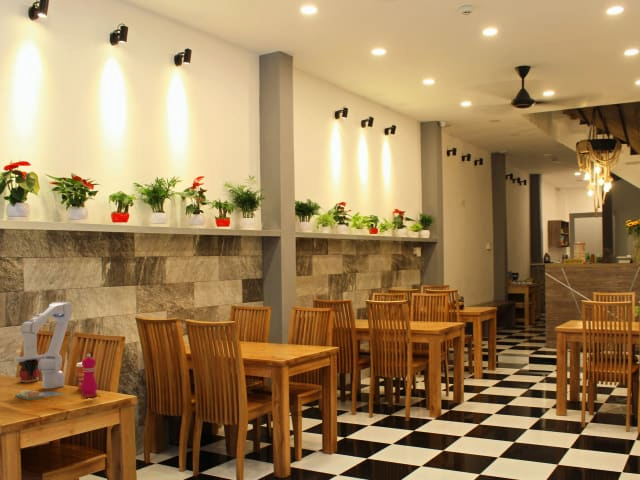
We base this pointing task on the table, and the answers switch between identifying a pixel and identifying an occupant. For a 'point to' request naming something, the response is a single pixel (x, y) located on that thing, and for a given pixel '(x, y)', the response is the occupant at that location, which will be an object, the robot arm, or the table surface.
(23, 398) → the box
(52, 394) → the plate
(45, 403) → the table surface
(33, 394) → the terracotta block
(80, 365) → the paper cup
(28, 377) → the cake
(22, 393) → the tile cream
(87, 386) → the pepper mill
